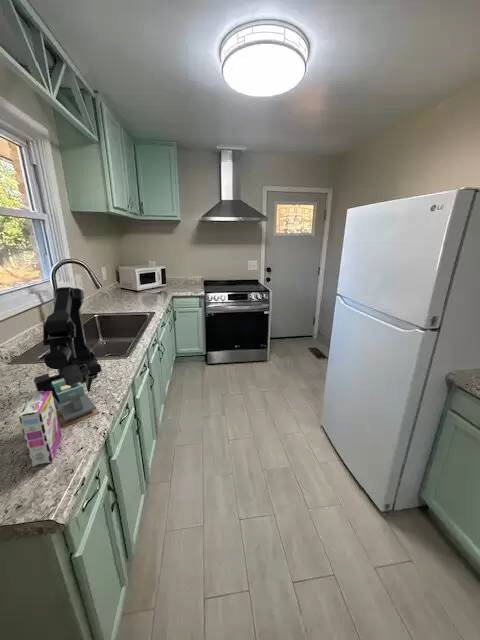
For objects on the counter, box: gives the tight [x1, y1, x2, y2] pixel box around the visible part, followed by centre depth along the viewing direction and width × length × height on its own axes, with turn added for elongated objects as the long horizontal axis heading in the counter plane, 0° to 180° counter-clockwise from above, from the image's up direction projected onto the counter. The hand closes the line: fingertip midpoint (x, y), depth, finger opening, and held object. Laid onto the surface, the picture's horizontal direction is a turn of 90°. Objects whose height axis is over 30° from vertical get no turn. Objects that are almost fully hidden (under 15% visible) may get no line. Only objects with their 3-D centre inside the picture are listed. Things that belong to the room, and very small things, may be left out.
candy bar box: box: [18, 391, 62, 468], centre depth 75 cm, size 11×5×16 cm, turn 21°
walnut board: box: [56, 397, 101, 428], centre depth 95 cm, size 12×11×1 cm
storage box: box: [52, 379, 86, 408], centre depth 102 cm, size 10×9×6 cm
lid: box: [56, 392, 97, 421], centre depth 94 cm, size 10×9×6 cm
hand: (74, 396), depth 93 cm, fingers open, 9 cm apart
